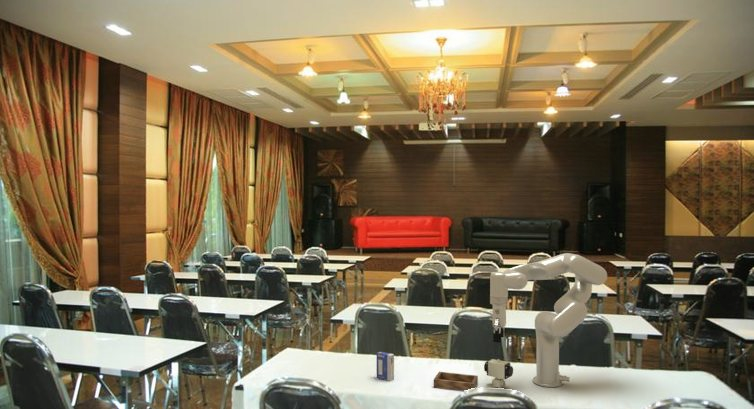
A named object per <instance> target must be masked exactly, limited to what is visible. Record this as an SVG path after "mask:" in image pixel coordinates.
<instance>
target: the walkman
mask: <svg viewBox="0 0 754 409" xmlns="http://www.w3.org/2000/svg"><path fill="white" fill-rule="evenodd" d="M376 379H379V380H382V381H388V382H393V381H394V380H395V354H393V353H390V352H389V353H388V352H384V351H378V352H376Z"/></svg>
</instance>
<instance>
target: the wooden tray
mask: <svg viewBox="0 0 754 409" xmlns="http://www.w3.org/2000/svg"><path fill="white" fill-rule="evenodd" d="M478 379H479V378H478V375H476V374H465V373H456V372H455V373H454V372H448V371H447V372H446V371H438V373H437V375H435V377H434V378H433V388H435V389H443V390H451V391H452V390H453V391H459V392H460V391H461V392H465V391H464V390H468V389H471V388H475V387H476V388H477V386H478V383H479V380H478ZM476 388H475V389H476Z"/></svg>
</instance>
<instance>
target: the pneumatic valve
mask: <svg viewBox="0 0 754 409" xmlns="http://www.w3.org/2000/svg"><path fill="white" fill-rule="evenodd" d="M483 369H484V372H486V375H487V376H488V377H492V378H493V379H492V380H491V384H492V387H493V388H497V387H499V388H498V389H502V388H505V386H506V381H505V380H508V379H509V378H511V377H513V375H514V368H513V366H512V365H511V362H509V361H505V360H500V359H499V358H498V359H494V358H491V359H489V360H487V361H485V363H484V365H483Z"/></svg>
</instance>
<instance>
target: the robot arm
mask: <svg viewBox="0 0 754 409" xmlns="http://www.w3.org/2000/svg"><path fill="white" fill-rule="evenodd" d="M566 273H570V274H573V275H574V279H575V280H574V284H573V286H572V287H571V288H569V290H568V291H567V292H566V293H564V295H562V296H561V297H560V298H559V299H558V300H557V301H556V302H555V303H554V306H553V310H554V312H555V313H553V312H551V311H547V310H544V311H540V312H538V313H537V314H536V316H535V318H534V329H535V337H536V349H535V350H536V358H535V359H536V368H535V369H536V371H535V372H536V373H535V374H536V376H534V377H532V382H533V383H534V384H535V385H538V386H540V387H545V388H558V387H562V385H563V382H567V383H569V382H570V380H571V378H570V376H567V375H562V374H560V341H559V339H562V338H565V337H567V336H568V335H569V334H570V333H572V332H573V331H574V329H575V328H577V327H578V326H579V325H581V323H582V322H583V321H584V320H585V319H586V316H587V314H588V309H587V306H586V304H585V303H587V302H588V301H589V299H591V297H592V290H593V286H600V285H601V286H602V285H603V284H605V283H606V281H607V279H608V273H607V271H606V269H605V268H604V267H602V266H601V265H599V264H597V263H595V262H593V261H591V260H589V259H588V258H587V257H584V256H581V255H580V254H575V253H571V252H563V253H562V254H558V255H555V256H551V257H549V258H545V259H542V260H540V261H535V262H529V263H525V264H520V265H517V266H513V267H511V268H508V269H506V270H504V271H493V272H491V273H490V278H489V280H490V281H489V282H490V284H489V286H490V288H489V291H490V294H489V304H490V305H492V327H493V334H492V336H493V338H492V339H493V342H494V343H497V344H501V343H502V338H504V335H505V333H504V328H506V325H507V310H506V309H507V307H506V306H507V305H508V304H509V303H508V302H509V301H508V297H509V291H508V290H523V289H524V288H526V286H527V285H528V281H533V280H536V281H538V280H539V281H543V280H544V281H545V280H550V279H552V278H555V277H559V276H560V275H564V274H566Z"/></svg>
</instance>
